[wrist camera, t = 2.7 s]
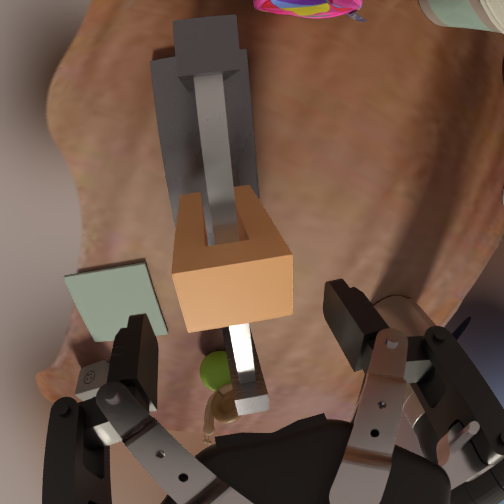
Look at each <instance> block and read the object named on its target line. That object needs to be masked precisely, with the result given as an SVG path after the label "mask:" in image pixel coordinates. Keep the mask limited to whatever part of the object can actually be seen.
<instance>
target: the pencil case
mask: <svg viewBox="0 0 504 504" xmlns="http://www.w3.org/2000/svg"><path fill="white" fill-rule="evenodd" d="M253 5H254V8H255V9H256V10H259V11H263V12H272V13H275V14H284V15H293V16H299V17H304V18H329V17H335V16H339V15H343V14H346V15H347V16H349V17H350V18H352V19H354V20H357V21H361V22H366V20H365V19H364V18H362V17H360V16H359V15H358V14H357V13H356V11H358V10H359V9H360V8H361V6H362V0H253Z"/></svg>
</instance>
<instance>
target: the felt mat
mask: <svg viewBox="0 0 504 504" xmlns="http://www.w3.org/2000/svg"><path fill="white" fill-rule="evenodd" d="M64 280H65V282H66V284H67V287H68V289H69V291H70V294H71V296H72V298H73V300H74V302H75V304H76V306H77V308H78V310H79V312H80V314H81V316H82V318H83V320H84V322H85V324H86V326H87V328H88V330H89V332H90V334H91V335H92V337H93V339H94V341H95V342H103V341H113V340H114V338H115V336H116V334H117V333H118V331H119V330H120V328H127V324H128V319H129V316H130V315H137V314H144V313H146V314H147V316H148V318H149V321H150V323H151V326H152V328H153V331H154V333H155V336H158V335H166V334H168V330H167V327H166V325H165V322H164V319H163V316H162V313H161V310H160V307H159V304H158V301H157V298H156V295H155V292H154V289H153V286H152V282H151V279H150V276H149V273H148V269H147V266H146V262H142V263H136V264H130V265H124V266H118V267H112V268H106V269H100V270H94V271H88V272H82V273H77V274H71V275H65V276H64Z"/></svg>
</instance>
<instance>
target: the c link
mask: <svg viewBox="0 0 504 504" xmlns="http://www.w3.org/2000/svg"><path fill="white" fill-rule="evenodd" d="M234 196H235V205H236V214H237V224H238V233H239V241H238V242H232V243H226V244H219V245H213V246H208V238H207V230H206V224H205V218H204V211H203V205H202V198H201V192H196V193H190V194H184V195H180V199H179V206H178V215H177V223H176V232H175V242H174V252H173V263H172V278H173V281H174V285H175V289H176V292H177V296H178V300H179V303H180V307H181V310H182V314H183V317H184V320H185V324H186V327H187V330H188V333H190V332H196V331H203V330H209V329H216V328H222V327H228V326H234V325H240V324H245V323H251V322H256V321H262V320H267V319H272V318H277V317H282V316H287V315H292V314H293V256H292V253H291V251H290V249H289V248H288V246H287V244H286V243H285V241H284V239H283V238H282V236H281V235H280V233H279V231H278V230H277V228H276V226H275V225H274V223H273V222H272V220H271V218H270V217H269V215H268V213H267V212H266V210H265V209H264V207H263V205H262V204H261V202H260V201H259V199H258V197H257V196H256V194H255V193H254V191H253V189H252V188H251V186H250V185H244V186H236V187H234Z"/></svg>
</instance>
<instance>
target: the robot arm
mask: <svg viewBox="0 0 504 504" xmlns="http://www.w3.org/2000/svg"><path fill="white" fill-rule="evenodd" d="M323 313H324V317H325V320H326V322H327V323H328V325H329V327H330V329H331V331H332V332H333V334H334V336H335V338H336V340H337V341H338V343H339V345H340V347H341V349H342V350H343V352H344V354H345V356H346V358H347V359H348V361H349V363H350V365H351V367H352V369H353V370H354V372H356V371H359V370H362V369H363V371H364V373H365V375H364V378H363V382H362V385H361V389H360V392H359V396H358V399H357V403H356V406H355V409H354V412H353V415H352V418H351V420H350V422H347V421H343V420H334V419H326V417H325V415H324V413H322V414H319V415H316V416H312V417H309V418H305V419H301V420H298V421H296V422H294V423H292V424H290V425H288V426H286V427H284V428H282V429H280V430H278V431H276V432H273V433H237V434H230V435H224V436H218V437H215V441H216V444H214V445H211V446H209V447H207V448H205V449H204V450H202V451H201V452H200V453H199V454H197V455H196V456H195V457H194V456H193V455H192V454H191V453H189V452H188V451H187V450H186V449H185V448H184V447H183V446H182V445H181V444H180V443H179V442H178V441H177V440H176V439H175V438H174V437H173V436H172V435H171V434H170V433H169V432H168V431H167V430H166V429H165V428H164V427H163V426H162V425H161V424H160V423H159V422H158V421H157V420H156V419H155V418H153V417H152V416H151V415H150V414H149V411H157V381H158V342H157V339H156V336H155V333H154V331H153V328H152V326H151V323H150V321H149V318H148V316H147V314H146V313H144V314H137V315H130V316H129V319H128V324H127V328H120V330H119V331H118V333H117V334H116V336H115V338H114V343H113V348H112V356H111V359H110V365H109V371H108V377H107V382H106V384H104V385H103V386H101V387H100V388H99V390H98V392H97V394H96V397H94V398H91V399H88V400H85V401H82V402H79V403H77V402H76V400H75V399H73V398H71V397H63V398H60V399H58V400H57V401H56V402H55V403H54V405H53V406H52V408H51V412H50V418H49V425H48V432H47V439H46V447H45V458H44V470H43V489H42V504H112V498H111V482H110V451H109V450H110V445H111V444H113V443H117V442H120V441H122V442H123V443H124V444H125V446H126V447H127V448H128V450H129V451H130V452H131V453H132V455H133V456H134V457H135V458H136V459H137V461H138V462H139V463H140V464H141V465H142V467H143V468H144V469H145V470H146V471H147V472H148V473H149V474H150V476H151V477H152V478H153V479H154V480H155V481H156V482H157V483H158V484H159V485H160V486H161V488H162V489H163V490H164V491H165V492H166V493H167V494H168V495H167V496H166V497H165V499H164V500H163V501H162V503H161V504H498V503H500V502H501V501H502V500H504V409H503V407H502V406H501V404H500V403H499V401H498V399H497V398H496V396H495V395H494V394H493V392H492V390H491V389H490V387H489V386H488V384H487V383H486V381H485V380H484V378H483V377H482V375H481V374H480V372H479V371H478V369H477V368H476V367H475V365H474V364H473V362H472V361H471V360H470V358H469V357H468V355H467V354H466V353H465V351H464V350H463V349H462V347H461V346H460V345H459V343H458V342H457V341H456V339H455V338H454V337H453V335H452V334H451V333H450V332H449V331H448V330H447V329H446V328H444V327H441V326H436V325H435V324H434V322H433V321H432V320H431V319H430V318H429V317H428V315H427V314H426V313H425V312H424V311H423V310H422V309H421V307H420V306H419V305H418V304H417V303H416V302H415V301H414V300H413V298H409V299H406V298H404V297H403V296H391V297H388V298H385V299H383V300H381V301H380V302H378V303H377V304H375V305H374V306H373V305H372V303H371V302H370V301H369V300H368V298H367V297H366V296H365V294H364V293H363V292H361V291H360V290H358V289H357V288H355V287H352V288H349V286H348V285H347V284H346V282H345V281H344V280H343V279H337V280H332V281H328V282H326V283H325V290H324V302H323ZM402 410H403V412H404V413H405V415H406V417H407V419H408V421H409V422H410V424H411V426H412V428H413V429H414V431H415V433H416V435H417V437H418V440H419V444H420V447H421V450H422V452H423V454H424V457H425V458H424V457H422V456H419V455H417V454H415V453H412V452H410V451H408V450H406V449H404V448H402V447H399V446H397V445H395V441H396V437H397V433H398V428H399V423H400V418H401V413H402Z"/></svg>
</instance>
